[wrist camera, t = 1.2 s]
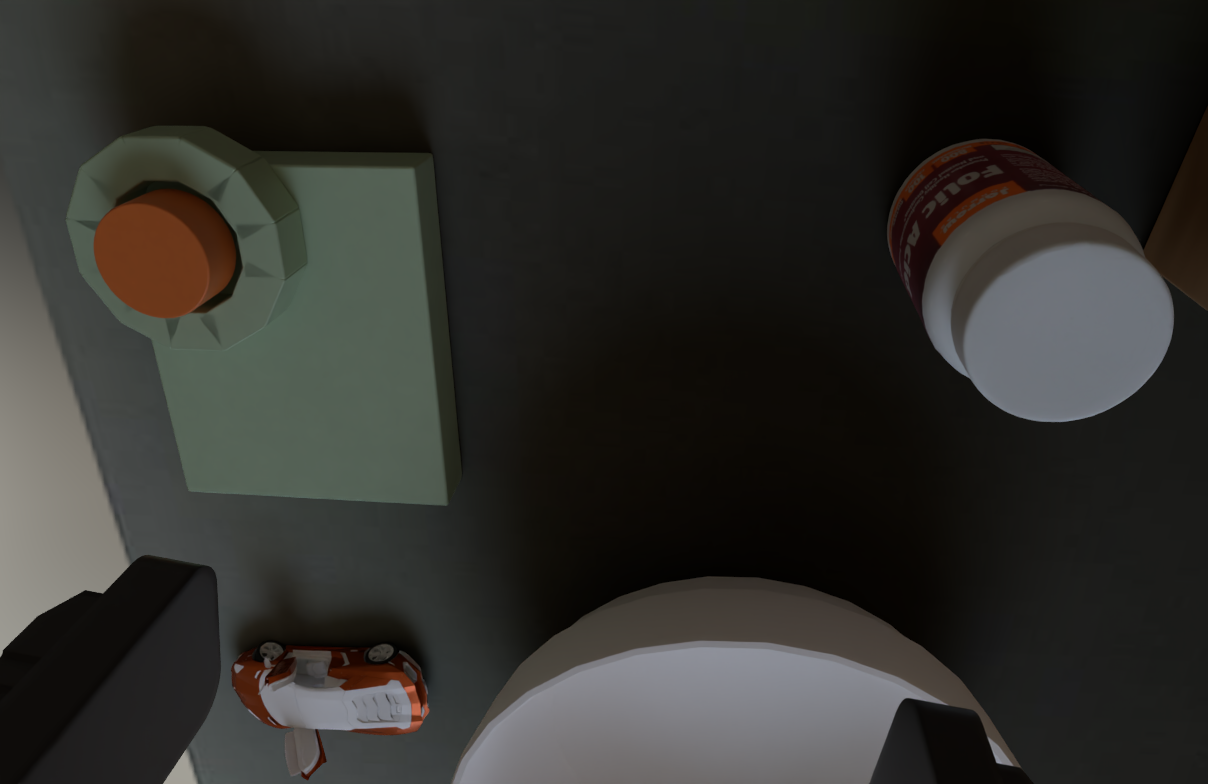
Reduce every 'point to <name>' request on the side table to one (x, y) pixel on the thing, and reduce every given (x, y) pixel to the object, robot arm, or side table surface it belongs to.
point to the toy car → (329, 694)
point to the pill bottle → (1028, 282)
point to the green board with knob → (297, 318)
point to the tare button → (164, 252)
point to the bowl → (711, 692)
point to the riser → (1185, 224)
